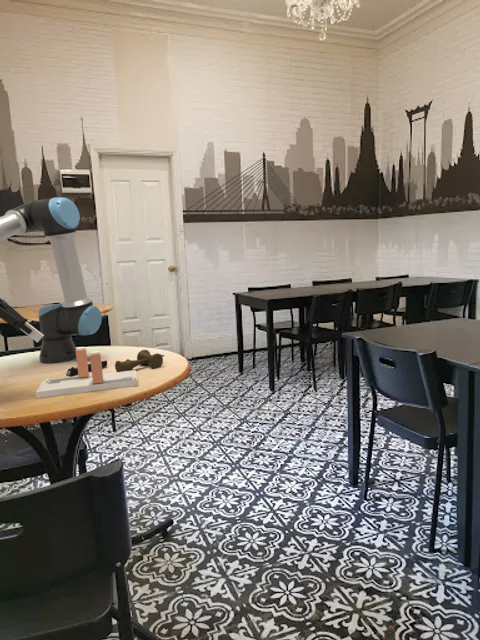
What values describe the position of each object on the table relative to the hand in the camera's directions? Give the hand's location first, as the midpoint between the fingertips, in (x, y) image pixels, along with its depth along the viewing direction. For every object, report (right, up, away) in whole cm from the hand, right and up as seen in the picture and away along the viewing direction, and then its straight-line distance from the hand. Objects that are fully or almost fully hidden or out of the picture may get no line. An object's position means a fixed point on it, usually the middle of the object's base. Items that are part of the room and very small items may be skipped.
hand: (40, 338), depth 145 cm
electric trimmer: (+6, -14, +26) cm, 30 cm away
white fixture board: (+13, -16, +6) cm, 21 cm away
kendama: (+26, -12, +26) cm, 39 cm away
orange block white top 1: (+10, -13, +10) cm, 19 cm away
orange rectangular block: (+18, -14, +2) cm, 23 cm away
